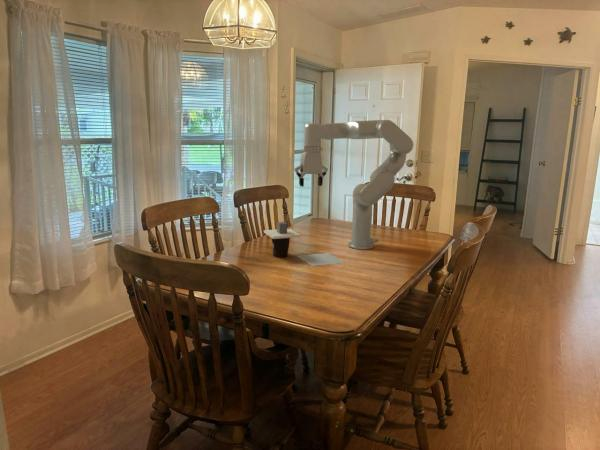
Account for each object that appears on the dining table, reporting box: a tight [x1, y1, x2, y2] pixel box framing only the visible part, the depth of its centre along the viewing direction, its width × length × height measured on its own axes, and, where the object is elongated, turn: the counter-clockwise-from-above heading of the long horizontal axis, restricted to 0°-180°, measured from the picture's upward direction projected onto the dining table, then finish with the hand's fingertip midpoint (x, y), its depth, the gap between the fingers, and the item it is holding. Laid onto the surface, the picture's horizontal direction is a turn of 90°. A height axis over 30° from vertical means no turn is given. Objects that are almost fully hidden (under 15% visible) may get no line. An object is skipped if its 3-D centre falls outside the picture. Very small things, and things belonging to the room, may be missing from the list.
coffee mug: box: [271, 238, 291, 259], centre depth 203 cm, size 12×9×10 cm
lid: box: [263, 221, 302, 240], centre depth 202 cm, size 13×13×6 cm
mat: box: [297, 252, 345, 267], centre depth 199 cm, size 16×16×1 cm
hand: (310, 185), depth 215 cm, fingers open, 9 cm apart
